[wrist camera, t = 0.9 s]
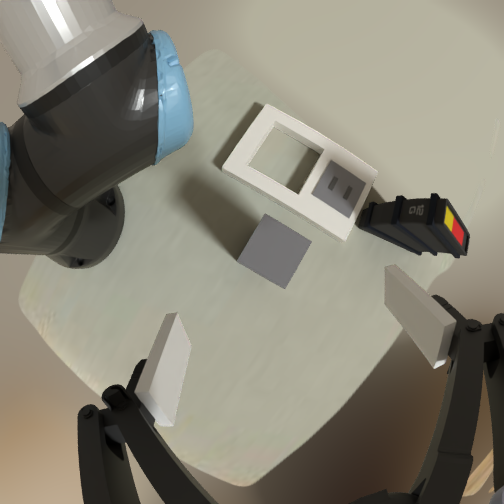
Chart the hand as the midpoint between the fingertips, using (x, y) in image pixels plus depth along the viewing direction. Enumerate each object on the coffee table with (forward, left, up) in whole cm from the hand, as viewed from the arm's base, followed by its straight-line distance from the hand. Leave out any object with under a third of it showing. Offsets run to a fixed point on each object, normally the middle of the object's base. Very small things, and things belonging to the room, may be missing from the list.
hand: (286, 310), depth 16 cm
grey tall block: (-2, +4, -20) cm, 21 cm away
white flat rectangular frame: (-3, +17, -20) cm, 26 cm away
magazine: (+14, +17, -21) cm, 30 cm away
